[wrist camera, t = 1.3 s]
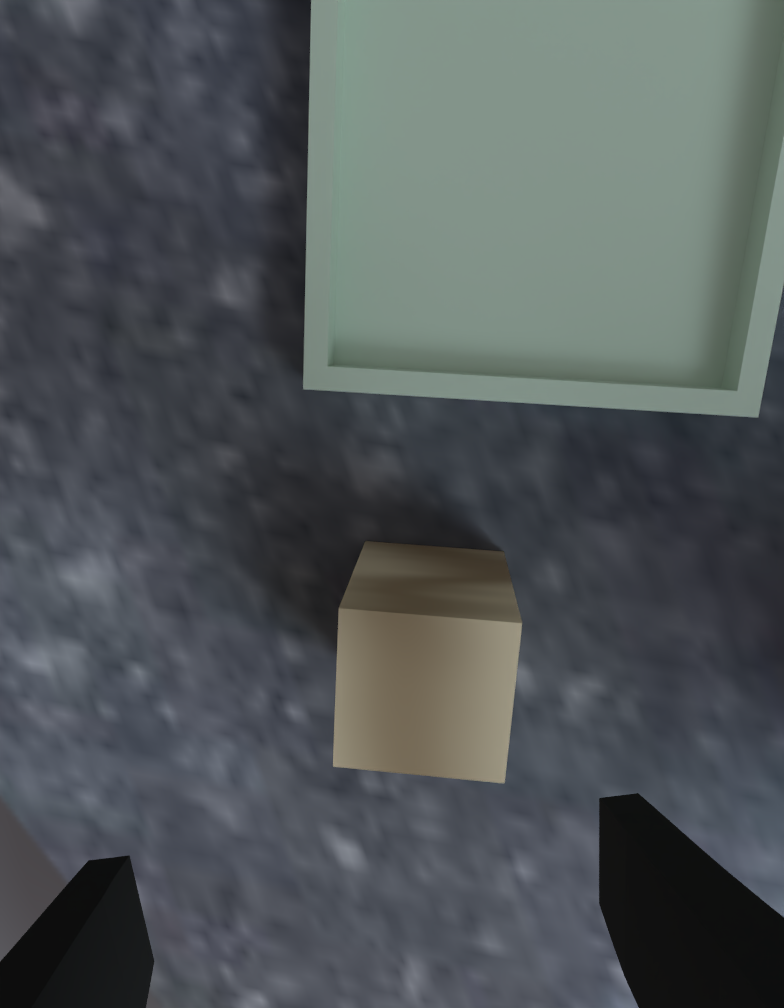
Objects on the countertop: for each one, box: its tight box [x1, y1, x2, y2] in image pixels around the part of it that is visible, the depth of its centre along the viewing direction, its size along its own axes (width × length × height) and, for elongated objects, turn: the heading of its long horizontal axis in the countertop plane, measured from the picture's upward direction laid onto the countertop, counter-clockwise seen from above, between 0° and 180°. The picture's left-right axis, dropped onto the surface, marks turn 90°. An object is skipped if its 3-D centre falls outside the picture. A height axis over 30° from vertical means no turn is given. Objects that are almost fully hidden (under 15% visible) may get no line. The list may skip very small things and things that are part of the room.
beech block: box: [333, 541, 522, 783], centre depth 18 cm, size 4×4×5 cm
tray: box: [303, 0, 784, 418], centre depth 16 cm, size 11×11×2 cm
